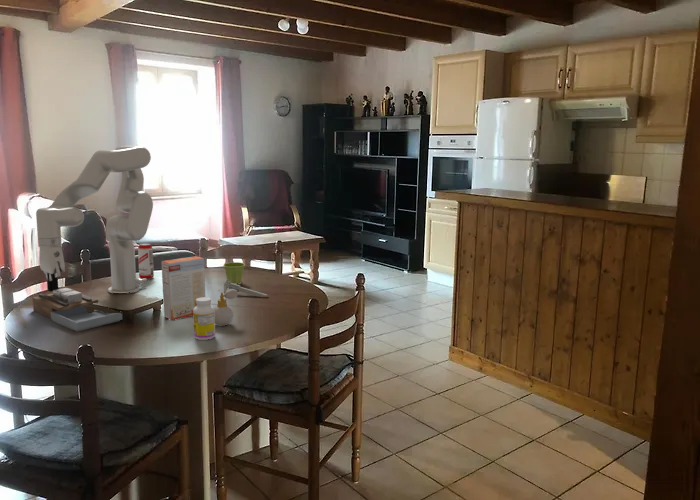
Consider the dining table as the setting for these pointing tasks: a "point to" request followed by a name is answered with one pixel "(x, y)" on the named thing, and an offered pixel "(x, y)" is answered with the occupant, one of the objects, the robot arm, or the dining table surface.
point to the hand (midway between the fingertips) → (53, 290)
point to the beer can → (145, 261)
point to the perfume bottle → (224, 308)
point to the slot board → (57, 304)
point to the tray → (83, 318)
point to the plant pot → (234, 271)
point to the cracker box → (182, 286)
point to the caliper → (240, 288)
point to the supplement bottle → (204, 319)
